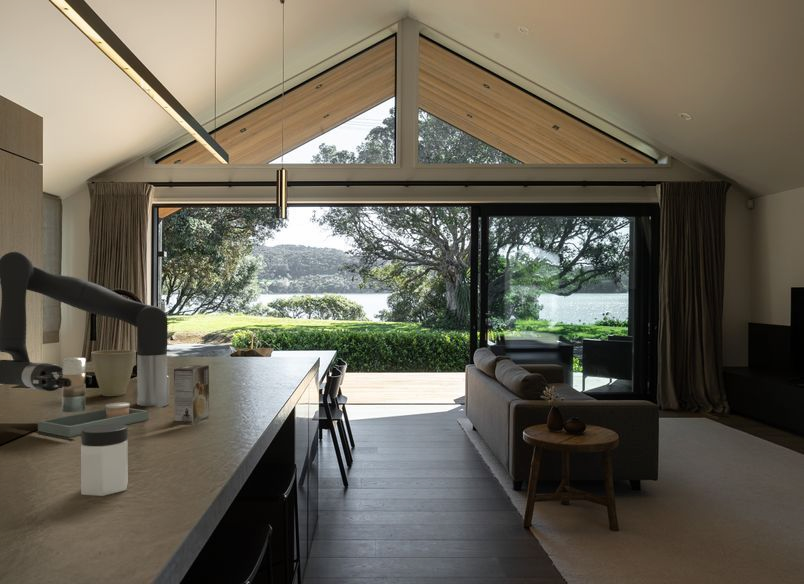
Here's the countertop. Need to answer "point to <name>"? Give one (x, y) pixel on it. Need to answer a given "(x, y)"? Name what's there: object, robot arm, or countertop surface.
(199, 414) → the coffee box
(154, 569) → the countertop surface
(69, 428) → the tray
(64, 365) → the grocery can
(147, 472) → the countertop surface
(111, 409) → the small lidded tub
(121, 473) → the jar
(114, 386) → the plant pot
